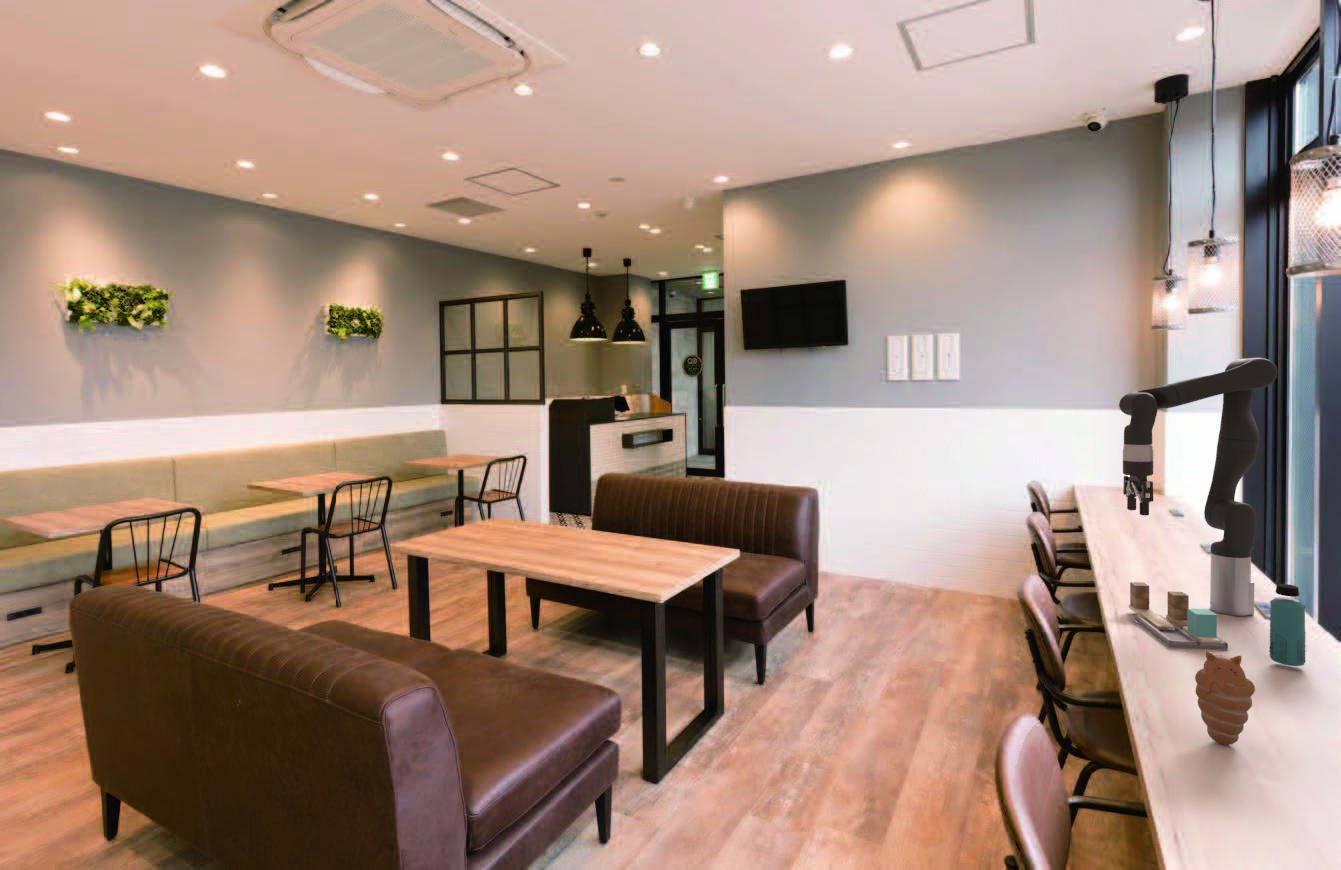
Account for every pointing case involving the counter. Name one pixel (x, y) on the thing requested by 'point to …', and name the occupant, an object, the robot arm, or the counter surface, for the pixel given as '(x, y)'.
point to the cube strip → (1151, 617)
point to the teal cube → (1202, 622)
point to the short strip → (1178, 608)
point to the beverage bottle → (1287, 627)
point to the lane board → (1183, 637)
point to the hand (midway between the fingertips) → (1137, 512)
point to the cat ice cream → (1223, 697)
